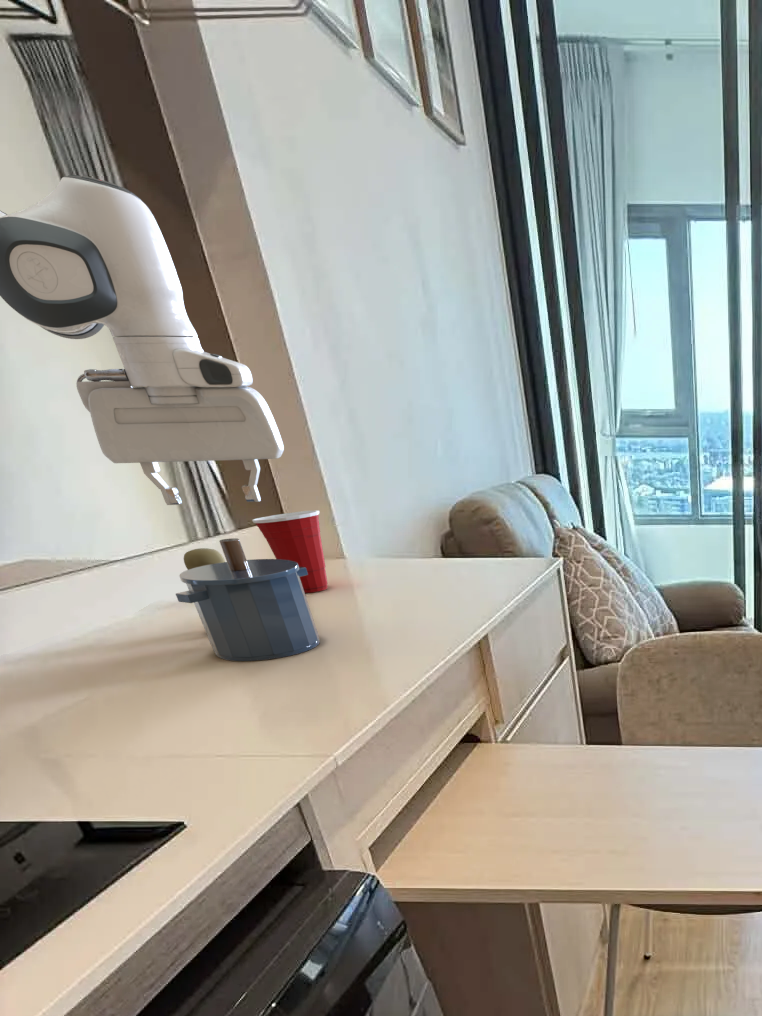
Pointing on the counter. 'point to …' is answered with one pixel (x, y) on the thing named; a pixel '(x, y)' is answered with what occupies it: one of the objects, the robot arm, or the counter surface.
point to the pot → (255, 618)
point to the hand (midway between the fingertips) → (214, 502)
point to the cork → (202, 557)
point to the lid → (238, 568)
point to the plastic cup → (297, 544)
